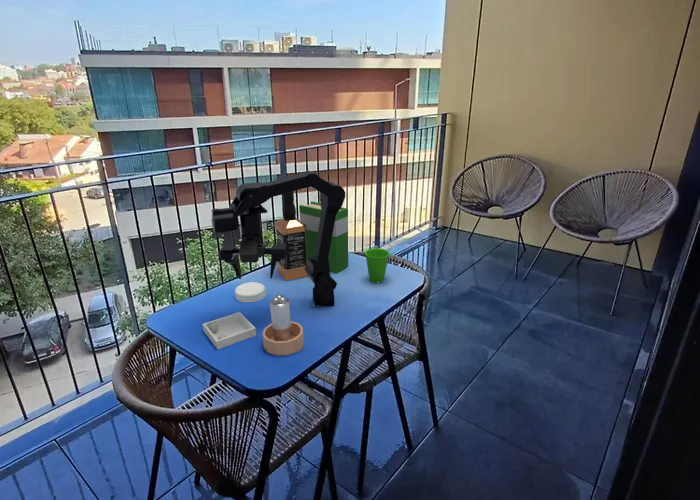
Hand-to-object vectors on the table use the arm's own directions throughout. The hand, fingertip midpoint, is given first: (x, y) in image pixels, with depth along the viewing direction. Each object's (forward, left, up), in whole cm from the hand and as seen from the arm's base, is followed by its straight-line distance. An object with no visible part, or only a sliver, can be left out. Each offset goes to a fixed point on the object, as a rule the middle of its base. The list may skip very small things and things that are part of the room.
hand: (256, 278), depth 123 cm
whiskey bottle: (-8, -31, -13) cm, 35 cm away
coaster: (+5, -13, -14) cm, 19 cm away
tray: (+7, +10, -13) cm, 18 cm away
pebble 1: (+12, +9, -12) cm, 19 cm away
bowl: (-9, +16, -13) cm, 23 cm away
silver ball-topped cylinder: (-9, +16, -12) cm, 22 cm away
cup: (-39, -23, -13) cm, 47 cm away
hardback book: (-20, -38, -13) cm, 45 cm away
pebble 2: (+8, +15, -12) cm, 21 cm away
